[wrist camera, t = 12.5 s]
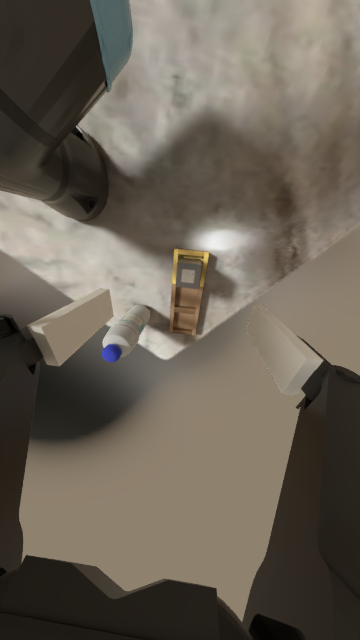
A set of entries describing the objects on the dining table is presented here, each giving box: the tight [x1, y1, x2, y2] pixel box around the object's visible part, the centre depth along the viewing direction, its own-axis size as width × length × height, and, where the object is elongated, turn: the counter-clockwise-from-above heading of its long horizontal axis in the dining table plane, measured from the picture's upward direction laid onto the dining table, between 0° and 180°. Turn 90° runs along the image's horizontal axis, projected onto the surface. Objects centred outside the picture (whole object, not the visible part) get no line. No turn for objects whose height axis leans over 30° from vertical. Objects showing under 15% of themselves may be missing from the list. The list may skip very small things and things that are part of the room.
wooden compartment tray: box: [169, 248, 209, 335], centre depth 39 cm, size 23×8×3 cm, turn 175°
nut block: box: [175, 257, 202, 289], centre depth 31 cm, size 4×4×10 cm
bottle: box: [102, 304, 150, 362], centre depth 35 cm, size 7×7×20 cm
